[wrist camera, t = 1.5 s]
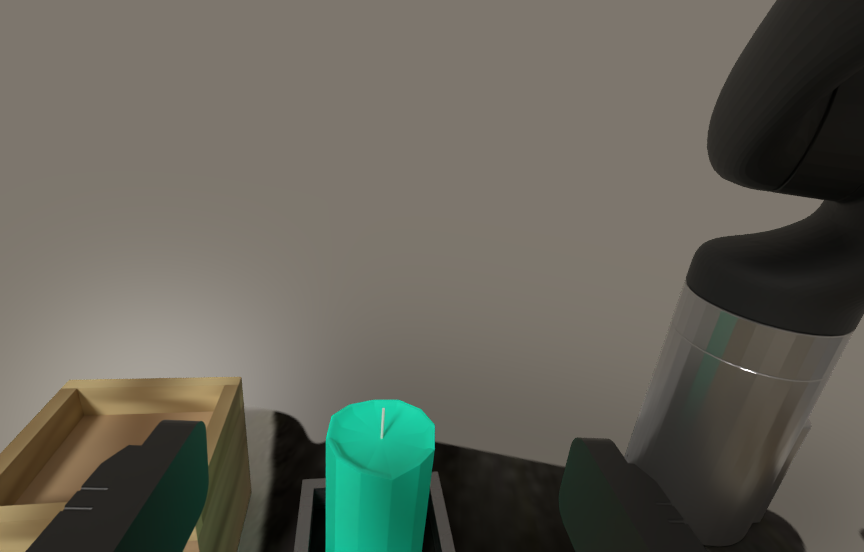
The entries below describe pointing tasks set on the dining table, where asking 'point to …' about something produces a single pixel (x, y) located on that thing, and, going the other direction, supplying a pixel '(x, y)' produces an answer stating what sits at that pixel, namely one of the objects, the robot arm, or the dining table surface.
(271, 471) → the dining table surface
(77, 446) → the wooden storage box
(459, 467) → the dining table surface
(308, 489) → the grey square tray
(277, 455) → the dining table surface
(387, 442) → the candle
